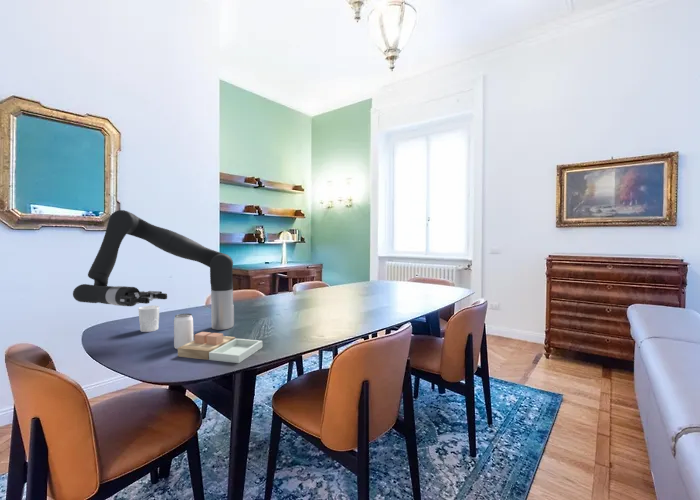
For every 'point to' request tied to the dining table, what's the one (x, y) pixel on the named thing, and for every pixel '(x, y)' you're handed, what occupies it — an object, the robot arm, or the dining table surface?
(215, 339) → the tile
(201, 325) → the dining table surface
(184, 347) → the board
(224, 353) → the tray
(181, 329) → the can
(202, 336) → the tile
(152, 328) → the white cup
